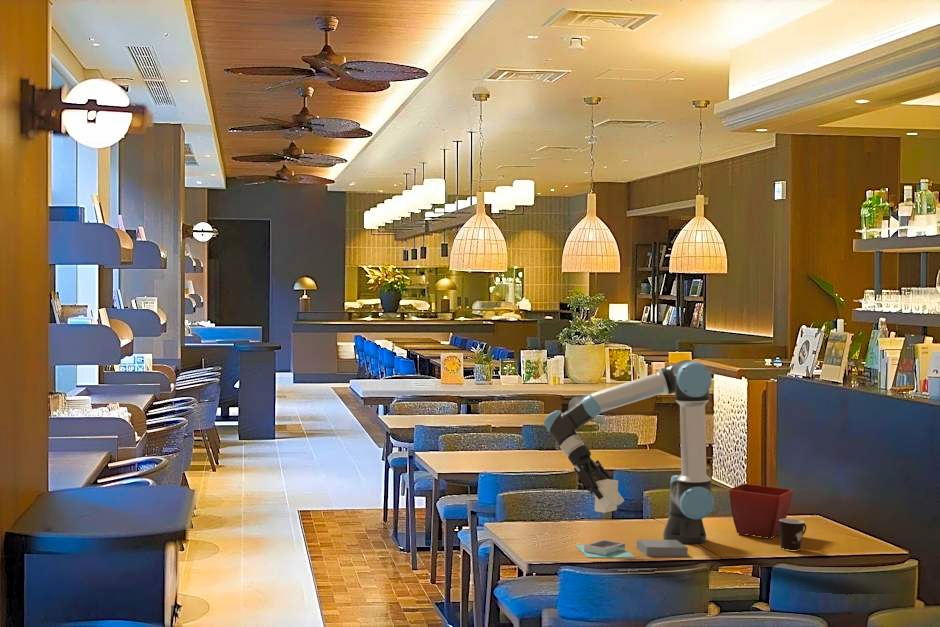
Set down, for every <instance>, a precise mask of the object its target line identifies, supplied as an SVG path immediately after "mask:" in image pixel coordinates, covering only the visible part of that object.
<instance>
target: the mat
mask: <svg viewBox="0 0 940 627" xmlns="http://www.w3.org/2000/svg"><path fill="white" fill-rule="evenodd" d="M584 545H585V544H575V545H574V546H575V547H576V548H577V549H578V550H579V551H580V552H581V553H582V554H583V555H584V556H585V557H586V558H587V559H636V557H635V556H634V555H633V554H632V553H631V552H630V551H628V550H627V549H625V550H624V551H621V552H617V553H614V554H611V555H608V556H603V555H598V554H593V553H588V552H584Z"/></svg>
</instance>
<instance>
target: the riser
mask: <svg viewBox="0 0 940 627" xmlns="http://www.w3.org/2000/svg"><path fill="white" fill-rule="evenodd" d="M688 548H689V547H688V546H686V545H685V544H684V543H680V542H679V541H677V540H666V539H636V549H637V550H638V551H640V552H641V554H643V555H644V556H646V557H688V553H689V552H688Z"/></svg>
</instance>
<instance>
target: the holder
mask: <svg viewBox="0 0 940 627" xmlns="http://www.w3.org/2000/svg"><path fill="white" fill-rule="evenodd" d="M583 545H584V552H588V553H593V554H598V555H603V556H608V555H611V554H614V553H617V552H621V551H624V550H626V549H625V548H626V543H624V542H619V541H613V540H608V539H601V540H597V541H593V542H591V543H590V542H589V543H586V544H583Z"/></svg>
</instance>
